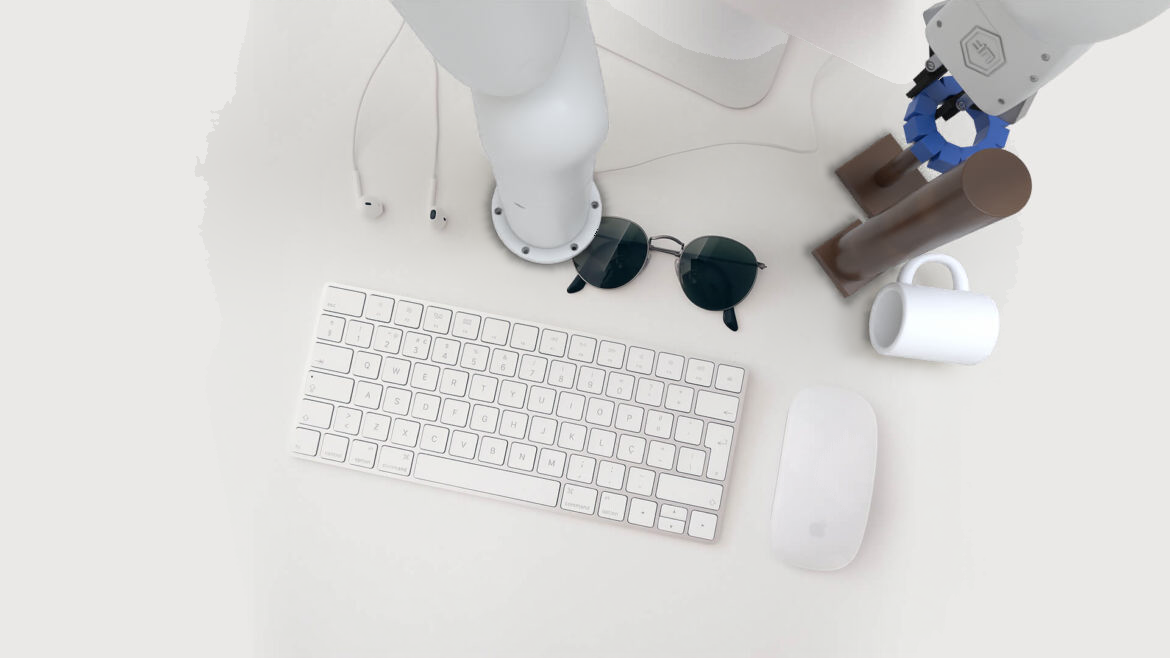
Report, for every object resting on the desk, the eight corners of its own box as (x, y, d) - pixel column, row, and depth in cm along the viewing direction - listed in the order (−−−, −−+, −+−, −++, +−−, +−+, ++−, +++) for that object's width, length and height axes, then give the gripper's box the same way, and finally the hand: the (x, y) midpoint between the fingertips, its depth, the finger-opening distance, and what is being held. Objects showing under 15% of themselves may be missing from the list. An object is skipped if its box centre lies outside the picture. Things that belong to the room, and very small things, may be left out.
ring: (884, 120, 61) (895, 110, 59) (952, 68, 62) (965, 57, 60) (946, 192, 61) (959, 185, 59) (1013, 138, 62) (1029, 129, 60)
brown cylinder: (810, 252, 73) (938, 170, 48) (854, 221, 74) (1002, 125, 49) (844, 298, 73) (991, 239, 48) (888, 267, 73) (1056, 193, 49)
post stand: (834, 171, 75) (871, 139, 66) (886, 136, 75) (929, 99, 67) (875, 226, 74) (918, 200, 65) (927, 189, 75) (976, 159, 66)
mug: (951, 368, 72) (999, 362, 64) (866, 357, 72) (903, 350, 64) (955, 266, 74) (1003, 249, 66) (872, 256, 73) (909, 237, 66)
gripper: (966, -88, 44) (849, 58, 62) (1114, 92, 43) (949, 188, 61) (1046, -141, 45) (907, 19, 63) (1195, 35, 43) (1008, 146, 62)
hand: (929, 101), depth 62 cm, fingers closed on ring, 2 cm apart
